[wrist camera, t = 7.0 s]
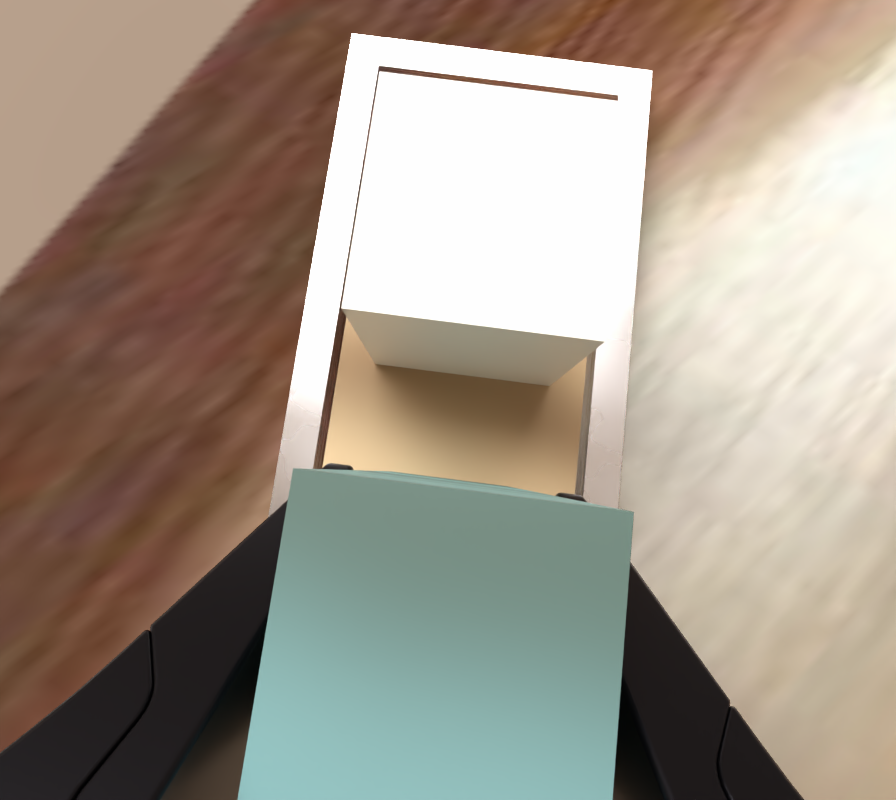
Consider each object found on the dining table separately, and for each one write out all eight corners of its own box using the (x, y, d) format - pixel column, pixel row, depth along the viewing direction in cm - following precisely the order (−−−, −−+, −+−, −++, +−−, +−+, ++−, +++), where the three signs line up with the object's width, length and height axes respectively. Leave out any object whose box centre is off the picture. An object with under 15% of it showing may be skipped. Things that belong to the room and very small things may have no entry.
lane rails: (565, 1020, 13) (574, 1063, 12) (202, 971, 14) (182, 1011, 13) (640, 93, 17) (652, 70, 16) (356, 58, 17) (351, 33, 16)
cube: (549, 386, 15) (605, 341, 10) (375, 363, 15) (341, 308, 10) (566, 221, 15) (625, 102, 10) (399, 201, 15) (379, 71, 10)
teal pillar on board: (545, 692, 15) (823, 1275, 4) (301, 660, 15) (-69, 1154, 4) (591, 201, 17) (852, -271, 6) (377, 174, 17) (267, -341, 6)
